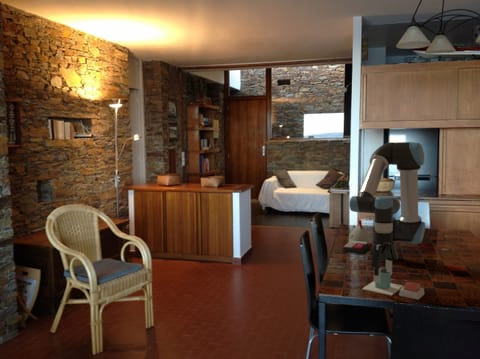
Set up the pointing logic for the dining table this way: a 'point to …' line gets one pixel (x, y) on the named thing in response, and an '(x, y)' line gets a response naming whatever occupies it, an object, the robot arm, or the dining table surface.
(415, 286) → the button
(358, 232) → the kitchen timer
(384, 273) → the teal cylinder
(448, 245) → the dining table surface
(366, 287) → the note pad
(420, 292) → the button base
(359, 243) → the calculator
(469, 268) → the dining table surface
